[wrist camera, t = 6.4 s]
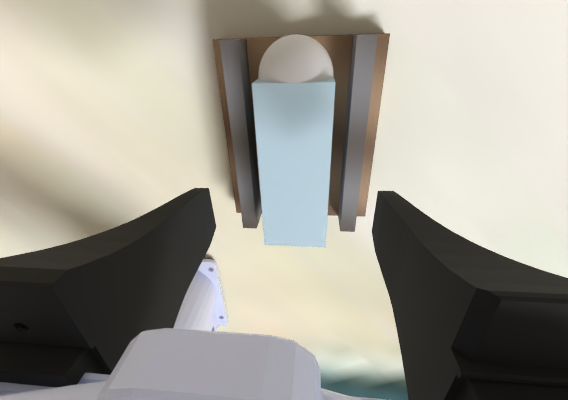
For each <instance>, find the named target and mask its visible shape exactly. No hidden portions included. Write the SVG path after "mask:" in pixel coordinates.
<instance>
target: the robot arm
mask: <svg viewBox="0 0 568 400" xmlns="http://www.w3.org/2000/svg"><path fill="white" fill-rule="evenodd" d="M215 229H216V223H215V218H214V213H213V208H212V203H211V197H210V192H209V188H194V189H192V190H190V191H188V192H186V193H184V194H182V195H180V196H178V197H176V198H175V199H173V200H171V201H169V202H167V203H165V204H164V205H162V206H160V207H158V208H156V209H154V210H152V211H150V212H148V213H146V214H144V215H142V216H140V217H139V218H136V219H134V220H132V221H130V222H128V223H125V224H123V225H120V226H118V227H116V228H113V229H110V230H108V231H105V232H102V233H99V234H96V235H93V236H90V237H87V238H84V239H81V240H78V241H74V242H71V243H67V244H64V245H60V246H56V247H52V248H48V249H44V250H39V251H34V252H30V253H25V254H20V255H15V256H10V257H5V258H0V400H384V399H373V398H362V397H350V396H347V395H343V394H340V393H336V392H332V391H329V390H325V389H322V388H321V379H320V368H319V365H318V363H317V360H316V358H315V356H314V355H313V354H312V353H311V352H310V351H308V350H307V349H305V348H304V347H302V346H301V345H299V344H298V343H296V342H295V341H293V340H289V339H284V338H280V337H276V336H272V335H258V334H244V333H230V332H216V330H217V328H218V326H226V325H227V323H228V319H227V314H226V309H225V304H224V299H223V294H222V289H221V284H220V280H219V275H218V270H217V265H216V262H215V261H214V260H211V259H204V257H205V255H206V253H207V251H208V248H209V246H210V244H211V241H212V238H213V235H214V232H215ZM372 235H373V241H374V247H375V252H376V256H377V259H378V262H379V265H380V268H381V271H382V274H383V278H384V281H385V284H386V287H387V290H388V293H389V296H390V300H391V304H392V307H393V312H394V317H395V322H396V327H397V332H398V338H399V343H400V349H401V354H402V360H403V367H404V373H405V379H406V385H407V392H408V399H409V400H568V278H565V277H562V276H559V275H555V274H552V273H549V272H545V271H542V270H539V269H537V268H534V267H531V266H528V265H525V264H522V263H520V262H517V261H514V260H512V259H509V258H507V257H504V256H502V255H499V254H497V253H495V252H492V251H490V250H488V249H486V248H483V247H481V246H479V245H477V244H475V243H473V242H471V241H469V240H467V239H465V238H463V237H461V236H459V235H458V234H456V233H454V232H452V231H450V230H449V229H447V228H445V227H444V226H442V225H441V224H439V223H438V222H436V221H434V220H433V219H431V218H430V217H429V216H427V215H426V214H424V213H423V212H421V211H420V210H419V209H417V208H416V207H415V206H413V205H412V204H411V203H409V202H408V201H407V200H405V199H404V198H403V197H401V196H400V195H399V194H397V193H396V192H394V191H378V194H377V201H376V208H375V214H374V221H373V228H372ZM211 268H213V269H211Z"/></svg>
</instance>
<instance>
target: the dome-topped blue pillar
mask: <svg viewBox="0 0 568 400" xmlns="http://www.w3.org/2000/svg"><path fill="white" fill-rule="evenodd" d="M252 92H253V105H254V117H255V130H256V142H257V155H258V167H259V180H260V192H261V205H262V217H263V229H264V242H265V245H279V246H302V247H325V248H326V232H327V216H328V199H329V182H330V165H331V148H332V132H333V115H334V98H335V80H334V77H333V66H332V62H331V59H330V56H329V54H328V53H327V51H326V50H325V48H324V47H323V46H322V45H321V44H320V43H319V42H318V41H316V40H315V39H313V38H311V37H309V36H306V35H301V34H293V35H287V36H284V37H282V38H280V39H278V40H277V41H275V42H274V43H273V44H272V45H271V46H270V47H269V48H268V49H267V50H266V52H265V53H264V55H263V57H262V60H261V62H260V66H259V73H258V79H257V80H256V81H254V82H253V83H252Z"/></svg>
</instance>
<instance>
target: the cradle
mask: <svg viewBox="0 0 568 400" xmlns="http://www.w3.org/2000/svg"><path fill="white" fill-rule="evenodd" d="M309 37H311V38H313V39H315V40H316V41H318V42H319V43H320V44H321V45H322V46H323V47H324V48H325V50H326V51H327V53H328V54H329V56H330V59H331V62H332V66H333V77H334V80H335V98H334V115H333V132H332V148H331V165H330V182H329V199H328V215H337V216H338V217H339V225H340V231H350V232H355V224H356V216H365V213H366V205H367V198H368V191H369V183H370V176H371V169H372V161H373V154H374V147H375V139H376V132H377V125H378V117H379V110H380V103H381V95H382V88H383V81H384V73H385V66H386V59H387V51H388V44H389V37H390V34H387V33H385V34H356V35H328V36H309ZM280 38H282V37H271V38H243V39H217V40H213V45H214V53H215V60H216V67H217V74H218V81H219V89H220V96H221V103H222V110H223V118H224V125H225V132H226V139H227V147H228V154H229V161H230V168H231V175H232V183H233V190H234V197H235V204H236V212H237V213H241V214H242V221H243V228H257V226H258V223H259V219H260V216H261V213H262V205H261V192H260V180H259V167H258V155H257V142H256V130H255V117H254V105H253V92H252V83H253V82H254V81H256V80H257V79H258V73H259V66H260V62H261V60H262V57H263V55H264V53H265V52H266V50H267V49H268V48H269V47H270V46H271V45H272V44H273V43H274V42H275V41H277V40H278V39H280Z"/></svg>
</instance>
